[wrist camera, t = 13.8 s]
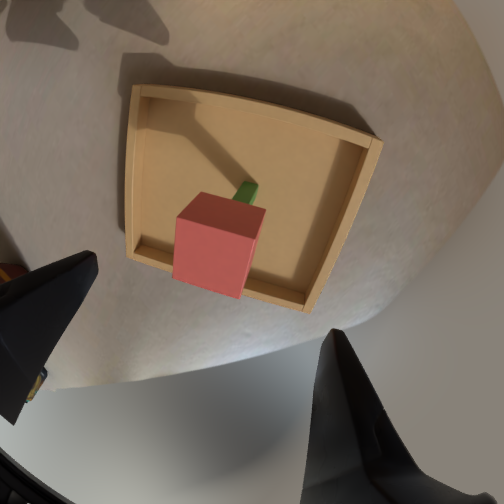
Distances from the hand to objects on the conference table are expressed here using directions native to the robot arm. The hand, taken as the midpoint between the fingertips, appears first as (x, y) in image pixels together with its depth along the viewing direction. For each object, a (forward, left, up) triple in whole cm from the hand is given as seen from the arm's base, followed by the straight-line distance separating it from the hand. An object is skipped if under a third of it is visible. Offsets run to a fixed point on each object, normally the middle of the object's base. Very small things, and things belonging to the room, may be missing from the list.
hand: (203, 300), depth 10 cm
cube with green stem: (+1, +1, -12) cm, 12 cm away
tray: (+2, +2, -12) cm, 13 cm away
